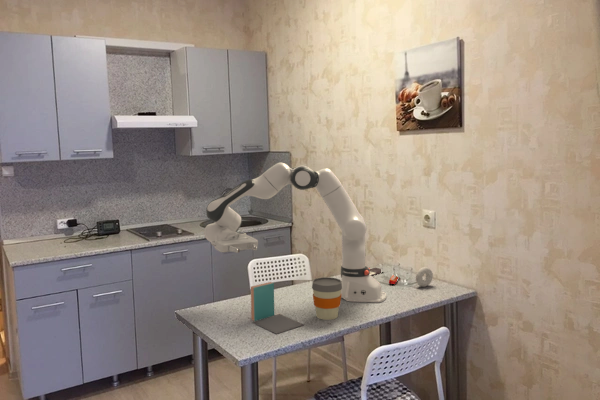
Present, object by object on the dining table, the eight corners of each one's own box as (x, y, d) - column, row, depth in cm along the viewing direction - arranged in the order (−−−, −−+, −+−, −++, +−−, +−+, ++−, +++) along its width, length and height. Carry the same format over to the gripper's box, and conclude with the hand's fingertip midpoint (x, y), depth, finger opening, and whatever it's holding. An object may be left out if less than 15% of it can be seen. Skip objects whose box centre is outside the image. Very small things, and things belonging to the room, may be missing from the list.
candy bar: (395, 286, 253) (395, 280, 252) (387, 285, 254) (388, 279, 253) (400, 277, 267) (400, 272, 267) (393, 277, 269) (393, 271, 268)
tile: (251, 319, 208) (250, 286, 206) (270, 313, 214) (270, 281, 212) (254, 321, 206) (254, 287, 204) (274, 315, 212) (273, 283, 210)
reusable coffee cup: (318, 309, 219) (318, 276, 217) (345, 312, 214) (345, 278, 212) (307, 319, 207) (307, 283, 206) (336, 323, 203) (336, 287, 201)
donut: (418, 288, 247) (418, 269, 246) (413, 287, 250) (414, 267, 249) (434, 286, 251) (434, 266, 250) (429, 284, 254) (429, 265, 253)
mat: (252, 322, 204) (252, 321, 204) (279, 314, 213) (279, 313, 213) (276, 334, 192) (276, 333, 192) (304, 325, 201) (304, 324, 201)
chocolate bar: (388, 270, 279) (367, 276, 267) (388, 272, 280) (367, 278, 267) (375, 267, 286) (354, 273, 274) (375, 269, 286) (354, 275, 274)
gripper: (209, 235, 217) (228, 245, 207) (247, 232, 231) (266, 240, 221) (208, 249, 218) (226, 259, 208) (245, 245, 232) (264, 254, 222)
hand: (247, 249), depth 215 cm, fingers open, 8 cm apart
